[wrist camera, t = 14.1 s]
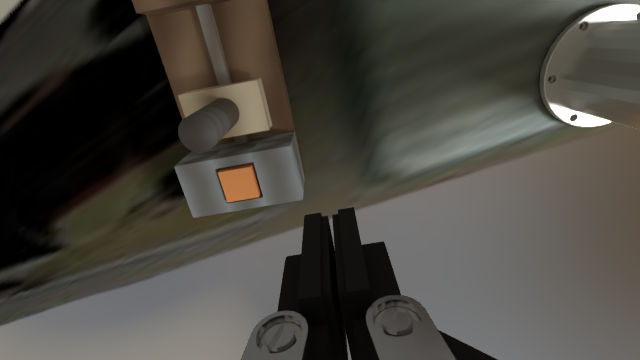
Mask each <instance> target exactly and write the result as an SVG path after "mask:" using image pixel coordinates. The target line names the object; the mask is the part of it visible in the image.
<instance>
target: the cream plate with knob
mask: <svg viewBox="0 0 640 360" xmlns="http://www.w3.org/2000/svg"><path fill="white" fill-rule="evenodd" d="M178 98H179V101H180V104H181V107H182V110H183V113H184V115H185V118H184V119H183V120H182V121H181V123H180V125H179V128H178V135H179V138H180V141H181V142H182V144H183V145H184V146H185V147H186V148H188V149H189V150H191V151H194V152H198V153H202V152H207V151H209V150H210V149H212V148H213V147H214V146H215V145H216V144H217V143H218V142H219V141H220V140H221V139H223V138H229V137H234V136H240V135H245V134H251V133H256V132H262V131H267V130H270V128H271V126H272V121H271V117H270V113H269V108H268V104H267V100H266V96H265V92H264V88H263V84H262V80H261V77H260V78H255V79H250V80H245V81H240V82H235V83H229V84H224V85H219V86H214V87H209V88H204V89H199V90H193V91H188V92H185V93H182V94H180V95H178Z"/></svg>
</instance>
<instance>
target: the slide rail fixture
mask: <svg viewBox="0 0 640 360" xmlns="http://www.w3.org/2000/svg"><path fill="white" fill-rule="evenodd" d="M132 2H133V5H134V8H135V11H136V13H138V14H145V15H146V16H147V19H148V22H149V25H150V28H151V31H152V33H153V36H154V39H155V42H156V45H157V48H158V51H159V54H160V56H161V59H162V62H163V65H164V68H165V71H166V74H167V77H168V79H169V82H170V85H171V88H172V91H173V94H174V97H175V100H176V102H177V105H178V108H179V111H180V114H181V117H182V120H183V119H184V118H185V115H184V113H183V110H182V107H181V104H180V101H179V98H178V95H180V94H182V93H185V92H188V91H193V90H199V89H204V88H209V87H214V86H219V85H224V84H229V83H235V82H240V81H245V80H250V79H255V78H260V77H261V80H262V84H263V88H264V92H265V96H266V100H267V104H268V108H269V113H270V117H271V121H272V126H271V128H270V130H267V131H262V132H256V133H251V134H245V135H240V136H234V137H229V138H223V139H221V140H220V141H219V142H218V143H217V144H216V145H215V146H214V147H213V148H212V149H210V150H209V151H207V152H202V153H198V152H194V151H191V152H190V153H189V154H188V155H187V156H185V157H184V158H183V159H182V160H181V161H180V162H179V163H177V164H176V165H175V166H174V168H175V171H176V173H177V176H178V179H179V181H180V184H181V186H182V189H183V192H184V194H185V197H186V200H187V202H188V205H189V208H190V210H191V213H192V216H193V218H196V217H202V216H208V215H214V214H220V213H226V212H232V211H238V210H244V209H250V208H256V207H262V206H268V205H274V204H280V203H286V202H292V201H298V200H303V191H304V181H305V178H304V167H303V162H302V158H301V153H300V148H299V144H298V139H297V135H296V130H295V125H294V121H293V116H292V112H291V107H290V102H289V98H288V93H287V89H286V84H285V80H284V75H283V70H282V66H281V61H280V57H279V52H278V47H277V43H276V38H275V34H274V29H273V24H272V20H271V15H270V11H269V6H268V1H267V0H132ZM252 162H254V166H255V170H256V173H257V177H258V180H259V184H260V188H261V194H260V196H259V197H257V198H251V199H245V200H239V201H233V202H227V199H226V196H225V193H224V190H223V187H222V184H221V181H220V178H219V175H218V172H219V170H220V169H221V168H223V167H229V166H235V165H240V164H246V163H252Z"/></svg>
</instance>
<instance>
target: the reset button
mask: <svg viewBox="0 0 640 360" xmlns="http://www.w3.org/2000/svg"><path fill="white" fill-rule="evenodd" d="M218 175H219V178H220V181H221V184H222V187H223V190H224V193H225V196H226V199H227V202H233V201H239V200H245V199H251V198H257V197H259V196H260V194H261V188H260V184H259V180H258V177H257V173H256V170H255V166H254V162H252V163H246V164H240V165H235V166H229V167H223V168H221V169H220V170H219V172H218Z"/></svg>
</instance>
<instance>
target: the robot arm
mask: <svg viewBox="0 0 640 360" xmlns="http://www.w3.org/2000/svg"><path fill="white" fill-rule="evenodd" d="M548 78H549V79H548ZM539 84H540V94H541V97H542V101H543V103H544V105H545V107H546V108H547V110H548V111H549V112H550V113H551V114H552V115H553V116H554V117H555V118H557V119H558V120H560V121H562V122H564V123H567V124H570V125H573V126H578V127H595V126H601V125H605V124H607V123H610V122H615V123H619V124H622V125H626V126H629V127H633V128H636V129H640V5H638V4H630V3H621V4H611V5H606V6H601V7H599V8H596V9H594V10H591V11H589V12H587V13H585V14H584V15H582V16H580V17H578V18H577V19H576V20H574V21H573V22H572V23H571V24H570V25H568V26H567V27H566V28H565V29H564V30H563V31H562V32H561V33H560V35H559V36H558V37H557V38H556V40H555V41H554V43H553V44H552V45H551V47H550V48H549V51H548V53H547V55H546V57H545V59H544V62H543V65H542V68H541V73H540V81H539ZM332 216H333V230H334V244H335V249H334V245H333V240H332V235H331V229H330V225H329V219H328V216H323V217H322V215H321V213H316V214H310V215H305V217H304V229H303V241H302V253H301V254H300V255H293V256H287V257H286V260H285V266H284V272H283V279H282V285H281V292H280V298H279V306H278V311H277V312H276V313H273V314H270V315H268V316H267V317H265V318H264V319H262V320H261V321H260V322H259V323H258V324H257V325H256V326H255V328H254V329H253V331H252V333H251V335H250V338H249V340H248V343H247V345H246V348H245V350H244V353H243V355H242V358H241V360H348V352H347V342H346V335H347V339H348V344H349V348H350V354H351V359H352V360H497V359H495V358H493V357H491V356H489V355H487V354H485V353H483V352H481V351H479V350H477V349H475V348H473V347H471V346H469V345H467V344H465V343H463V342H461V341H459V340H457V339H455V338H453V337H451V336H449V335H447V334H445V333H443V332H441V331H439V330H438V329H437V328H436V326H435V324H434V323H433V321H432V319H431V318H430V316H429V314H428V313H427V311H426V309H425V308H424V307H423V306H422V305H421V304H420V303H419V302H417V301H416V300H414V299H412V298H410V297H407V296H403V295H401V294H400V290H399V287H398V284H397V281H396V278H395V275H394V271H393V268H392V265H391V262H390V259H389V256H388V252H387V249H386V246H385V243H384V242H378V243H371V244H364V245H361V241H360V236H359V231H358V226H357V221H356V216H355V211H354V207H352V208H346V209H340V210H338V214H336V215H332Z"/></svg>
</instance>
